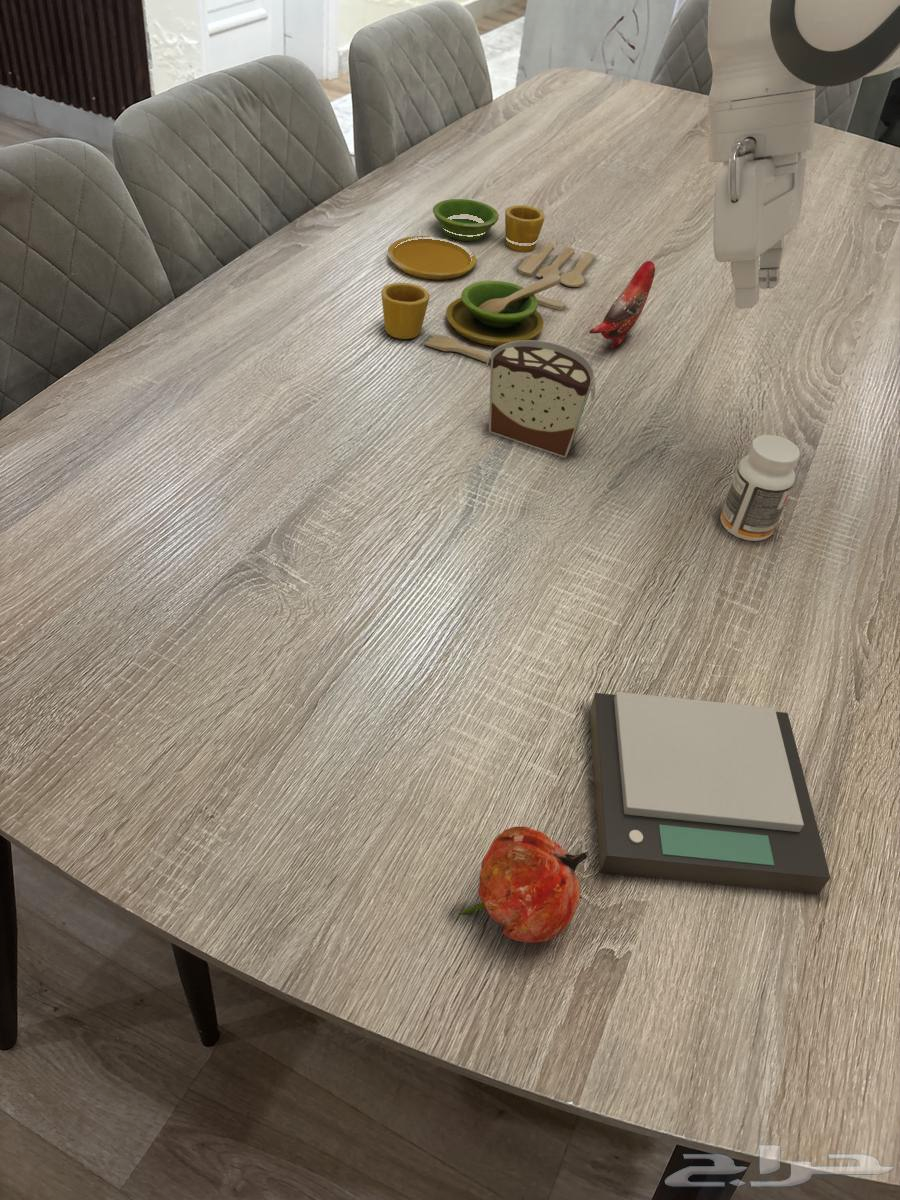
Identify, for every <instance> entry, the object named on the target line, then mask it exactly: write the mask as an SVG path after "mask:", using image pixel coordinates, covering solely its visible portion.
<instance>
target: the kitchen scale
mask: <svg viewBox="0 0 900 1200" xmlns="http://www.w3.org/2000/svg"><path fill="white" fill-rule="evenodd" d="M588 713H589V729H590V742H591V755H592V756H591V758H592V759H591V760H592V775H593V788H594V790H593V791H594V804H595V805H594V806H595V820H596V821H595V822H596V835H597V851H598V864H599V865H598V867H599V873H601V874H611V875H619V876H629V877H639V878H648V879H649V878H650V879H659V880H670V881H679V882H688V883H699V884H700V883H701V884H707V885H708V884H710V885H720V886H729V887H740V888H750V889H760V890H771V891H780V892H788V893H799V894H810V895H820V893H821V892H822V891H823V889H824V888H825V887H826V885H827V884H828V882H829V881H830V880H831V873H830V870H829V866H828V863H827V859H826V855H825V850H824V847H823V842H822V839H821V835H820V832H819V827H818V824H817V823H818V822H817V820H816V817H815V812H814V809H813V804H812V801H811V796H810V793H809V790H808V786H807V785H808V784H807V781H806V777H805V774H804V770H803V766H802V763H801V759H800V755H799V751H798V747H797V744H796V739H795V736H794V732H793V728H792V724H791V720H790V716H789V713H788V712H785V711H784V712H782V711H776V708H775V707H768V706H759V705H749V704H741V703H729V702H720V701H711V700H703V699H702V700H701V699H693V698H683V697H673V696H665V695H664V696H662V695H653V694H643V693H634V692H626V691H615V694H611V693H603V692H594V695H593V698H592V701H591V704H590V707H589V712H588Z"/></svg>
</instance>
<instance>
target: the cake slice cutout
mask: <svg viewBox="0 0 900 1200" xmlns="http://www.w3.org/2000/svg"><path fill="white" fill-rule="evenodd" d="M491 353H492V354H491V355H490V356H489V358H488V360H487V363H486V362H485V363H486V364H485V366H484V368H488V367H489V366H490V376H489V377H490V379H489V383H490V384H489V406H488V407H489V410H488V411H489V412H488V433H491V434H493V435H496V436H499V437H502V438H505V439H508V440H511V441H514V442H517V443H520V444H523V445H526V446H529V447H532V448H535V449H538V450H541V451H544V452H546V453H548V454H552V455H555V456H558V457H560V458H561V457H562V458H565V459H567V457H568V455H569V454H570V453H569V452H570V450H571V447H572V445H573V441H574V438H575V436H576V433H577V429H578V427H579V424H580V422H581V419H582V415H583V413H584V410H585V407H586V404H587V401H588V398H589V396H590V402H593V401H594V400H595V396H596V376H595V371H594V369H593V366H592V364H591V363H590V362H589V361H588V360H587V359H586V358H585V356H583V355H582V354H580V353H578V352H577V351H575V350H573V349H571V348H569V347H567V346H563V345H561V344H558V343H554V342H549V341H544V340H537V339H536V340H533V339H530V340H522V341H514V342H509V343H506V344H503V345H501V346H496V348H494V349H493V350H491Z"/></svg>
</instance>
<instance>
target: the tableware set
mask: <svg viewBox="0 0 900 1200" xmlns="http://www.w3.org/2000/svg"><path fill="white" fill-rule="evenodd" d="M504 210H505V211H504V223H505V224H504V230H505V234H504V235H506V237H507V238H508V239H509V240H511V241H514V242H518V243H533V242H535V241H536V240H537V239H538V240H539V236H540V233H541V232H542V231H541V230H542V228H543V226H544V225H543V224H544V222H545V219H546V214H545V212H544V211H543V210H541V209H540V208H537V207H533V206H530V205H521V204H520V205H519V204H517V205H510V206H509V207H507V208H506V209H504ZM432 213H433V215H434V217H435V219H437V221H438V223H439V225H440V226H442V227H443V228H444V229H446V230H448V231H450V232H453V233H456V234H462V235H477V234H481V233H484V232H486V231H487V232H486V233H485V234H483V235H480V236H473V237H467V236H459V235H455V234H452V233H449V232H447V231H445V230H444V229H443V228H442V227H441V229H442V231H443V233H444V234H445V235H446V236H447V237H449V238H451V240H454V241H455V240H456V241H460V242H477V241H478V240H481V239H483V237H484V236H485V235H486V234H487V233H488V231H489V230H490V229H491V227H493V226H494V225H496V223H497V222H498V220H499V218H500V216H499V213H498V211H497V210H496V209H495V208H493V206H491V205H489V204H486V203H484V202H481V201H478V200H472V199H466V198H451V199H446V200H442V201H439V202H437V203H436V204H435V205H433V208H432ZM460 214H469V215H473V216H477V217H478V218H481V219H482V220H483V221H484V223H478V222H476V221H473V220H469V219H452V220H450V219H447V218H448V217H450V216H453V215H460ZM426 236H427V237H429V236H430V235H415V236H406V237H402V238H400V239H398V240H395V241H393V242H392V243H391V244H390V245H389V246H388V248H387V256H388V258H389V260H390V261H391V262H392V263H393V264H394V265H395V267H396V268H398V269H399V270H400V271H402V272H404V273H405V274H408V275H410V276H413V277H416V278H421V279H426V280H435V281H439V280H441V281H442V280H443V281H444V280H452V279H456V278H457V279H458V278H459V277H461V276H464V275H466V274H467V273H468V272H469V271H471V270H472V269H473V268H475V265H476V264H477V256H476V254H475V252H473V253H472V254H473V255H474V254H475V255H474V256H472V257H471V258H472V261H471V258H470V255H469V254H468V253H467V252H466V251H465V250H464V249H462V248H461V247H459V246H457V245H454V244H452V243H449V242H445V241H440V240H432V239H418V240H411V241H407V242H404V243H402V244H400V243H401V242H403V241H406V240H408V239H411V238H412V239H413V238H415V237H417V238H418V237H422V238H423V237H426ZM538 240H537V241H538ZM398 244H400V245H398ZM397 245H398V246H397ZM505 245H506V248H509V249H510V250H511V251H516V252H521V253H528V252H532V251H533V250H534V249H535V248H536V247H537V243H536V244H534V245H531V246H519V245H515V244H512V243H510V242H508V241H507V240H506V239H505ZM396 246H397V247H396ZM395 247H396V248H395ZM554 247H555V244H554V243H552V242H545V243H544V244H543V245H542V246H541V247H540V250H539V251H538V253H537V254H529V255H528V256H526V257H525V259H524V260H523V261H522V262H521V263H520V264H519V265H518V267H517V271H518V273H519V274H520V275H522V276H524V277H528V278H529V277H532V276H534V274H535V273H536V272H537V273H536V274H535V277H536V278H538V280H537V281H535V282H533V283H531V284H529V285H527V286H525V287H523V286H521V285H518V284H516V283H511V282H507V281H501V280H482V281H481V280H480V281H477V282H473V283H471V284H468V285H467V286H466V287H464V289H463V290H462V291H461V293H460V297H459V298H457V299H455V300H453V301H452V302H450V304H449V305H448V306H447V307H446V311H445V315H446V319H447V321H448V323H449V324H450V326H451V327H452V328H453V329H454V331H455V332H456V333H458V334H459V335H461V336H463V337H464V338H466V339H468V340H470V341H471V342H474V343H477V344H481V345H485V346H492V347H499V346H501V345H503V344H506V343H509V342H514V341H522V340H532V339H534V338H535V337H536V336H537V335H539V334H540V333H541V331H542V330H543V328H544V319H543V316H542V315H541V314H540V312H539V311H538V307H539V305H540V306H543V307H547V308H549V309H554V310H557V311H563V310H564V309H565V306H566V305H565V303H564V302H563V301H559V300H556V299H552V298H548V297H545V296H541V295H538V294H539V293H541V292H544V291H547V290H548V289H551V288H553V287H556V286H557V285H560V283H561V284H562V285H564V286H566V287H570V288H579V287H580V288H581V287H582V286H583V285H585V278H584V276H583V273H584V272H585V271H586V269H587V268H588V267H589V266H590V265H591V264H592V262H594V258H595V255H594V254H593V253H592V252H589V251H584V252H582V253H581V255H580V257H579V259H578V260H577V261H576V264H575V265H574V268H573V270H571V271H569V272H564V273H562V274H561V271H560V270H559V269H560V268H561V267H562V266H563V265H565V264H566V263H567V261H569V260H570V259H571V258H572V257H573V256H574V255H575V248H573V247H570V246H566V247H564V248H563V249H562V250H561V252H560V253H559V254H558V255H557V256H556V258H555V259H554V261H553V262H552V263H551V264H550V265H547V266H546V265H545V266H543V267H541V265H542V264H543V263H544V262H545V260H546V259H547V258H548V257H549V255H550V254H551V253H552V252H553V251H554V249H555V248H554ZM472 254H471V255H472ZM475 256H476V257H475ZM470 262H471V263H470ZM475 263H476V264H475ZM540 267H541V268H540ZM539 268H540V269H539ZM538 269H539V270H538ZM537 270H538V271H537ZM560 274H561V275H560ZM540 278H541V279H540ZM380 295H381V303H382V312H383V314H382V315H383V322H384V331H385V332H386V334H388V335H389V336H391V337H392V338H396V339H400V340H409V339H414V338H416V337H418V336H419V335H420V334H421V331H422V329H423V326H424V325H423V324H424V321H425V317H426V313H427V310H428V305H429V301H430V293H429V291H428V290H426V288H424V287H422V286H420V285H418V284H414V283H410V282H393V283H389V284H387V285H384V286H383V287H382V289H381V293H380ZM424 345H425V346H427V347H430V348H432V349H436V350H439V351H441V352H455V353H459V354H461V355H465V356H468V357H470V358H473V359H476V360H478V361H481V362H484V363H487V360H488V358H489V356H490V355H491V354H492V352H489V351H486V350H482V349H478V348H475V347H472V346H468V345H466V344H462V343H460V342H459V341H457V340H456V339H455V338H453V337H450V336H446V335H441V334H434V333H433V334H432V335H431V336H430V337H429V338H428V339H427V340H426V341H424Z"/></svg>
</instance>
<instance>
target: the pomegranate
mask: <svg viewBox="0 0 900 1200" xmlns="http://www.w3.org/2000/svg"><path fill="white" fill-rule="evenodd" d="M590 853H591V850H587V851H584V852H582V853H579V854H575V855H574V854H570V853H569V852H568V850H566V849H565V848H563V846H561V845H560V844H559V843H558V842H555V841H552V839H551V838H550V837H549V836H548V835H546V834H545V833H543V832H542V831H540V830H537V829H533V828H531V827H528V826H512V827H509V828H508V829H504V830H503V831H502V832H501V833H499V834H498V835H497V836H496V837H495V838H494V839H493V840H492V842H491V844H490V846H489V848H488V850H487V852H486V854H485V855H484V857H483V859H482V861H481V865H480V866H481V868H480V869H481V870H480V871H479V883H478V884H479V885H478V889H477V892H478V896H479V899H480V901H481V902H479V903H478V904H475V905H473V906H471V907H468V908H466V909H464V910H462V911H460V912H459V914H461V915H467V914H471V913H473V912H475V911H482V910H484V909H486V912H487V914H488V915H489V916H490V917H491V918H492V919H493V920H494V922H495V923H497V924H499V925H500V927H502V932H503V935H504V936H505V937H507V938H508V939H510V940H514V941H517V942H523V943H531V944H532V943H541V942H547V941H550V940H552V939H553V938H555V937H556V936H558V935H560V934H561V933H562V931H564V929H565V928H566V927H567V926H568V925H569V923H570V921H571V920H572V918H573V917H574V915H575V914H576V912H577V910H578V907H579V905H580V898H581V895H582V894H581V893H582V892H581V891H582V890H581V885H580V881H579V878H578V875H577V873H576V870H577V867H578V865H580V863H582V862H584V861H585V860H587V859H588V858H589V857H590Z"/></svg>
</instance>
